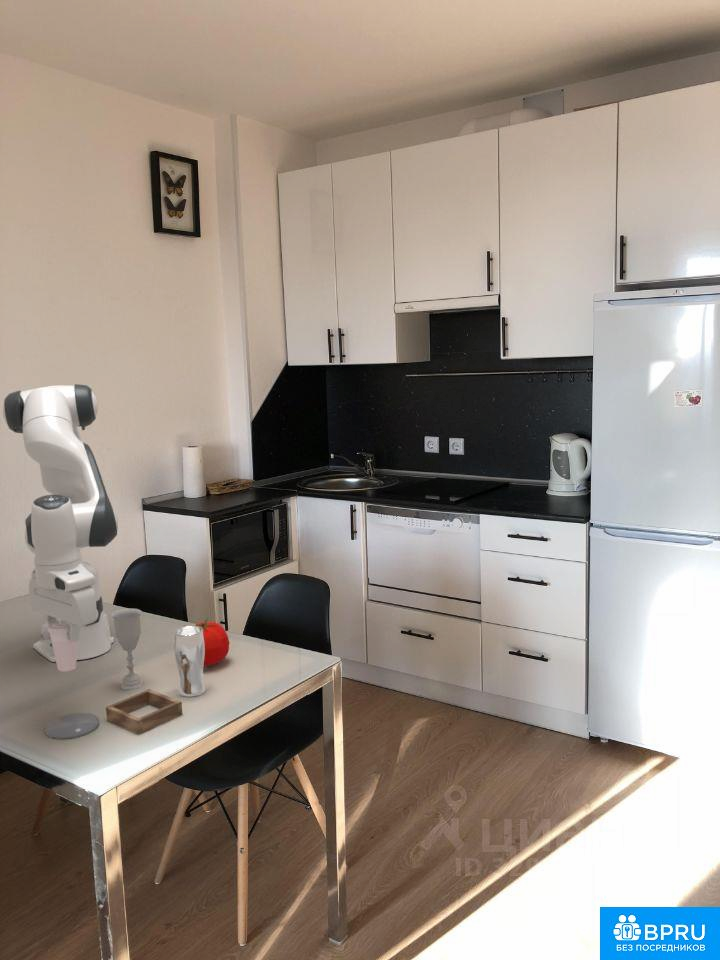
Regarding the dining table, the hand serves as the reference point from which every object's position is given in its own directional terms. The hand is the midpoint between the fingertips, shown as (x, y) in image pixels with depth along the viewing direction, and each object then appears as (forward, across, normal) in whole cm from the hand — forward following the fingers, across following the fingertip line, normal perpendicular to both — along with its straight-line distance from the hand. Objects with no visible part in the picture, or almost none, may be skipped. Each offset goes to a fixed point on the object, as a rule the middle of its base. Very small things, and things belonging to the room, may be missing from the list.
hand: (64, 637), depth 173 cm
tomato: (+20, -3, +40) cm, 45 cm away
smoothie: (+7, 0, 0) cm, 7 cm away
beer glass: (+20, +7, +27) cm, 35 cm away
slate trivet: (+20, 0, 0) cm, 20 cm away
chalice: (+20, -8, +21) cm, 30 cm away
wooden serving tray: (+20, +9, +12) cm, 25 cm away
